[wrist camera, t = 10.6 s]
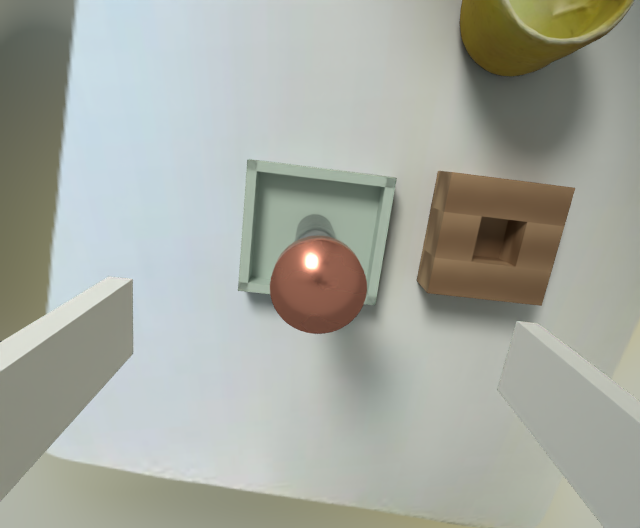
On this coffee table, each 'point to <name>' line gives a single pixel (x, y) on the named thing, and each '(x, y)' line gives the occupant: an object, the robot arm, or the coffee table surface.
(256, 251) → the tray
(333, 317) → the pin
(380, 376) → the coffee table surface
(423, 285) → the socket block
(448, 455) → the coffee table surface
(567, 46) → the mug
